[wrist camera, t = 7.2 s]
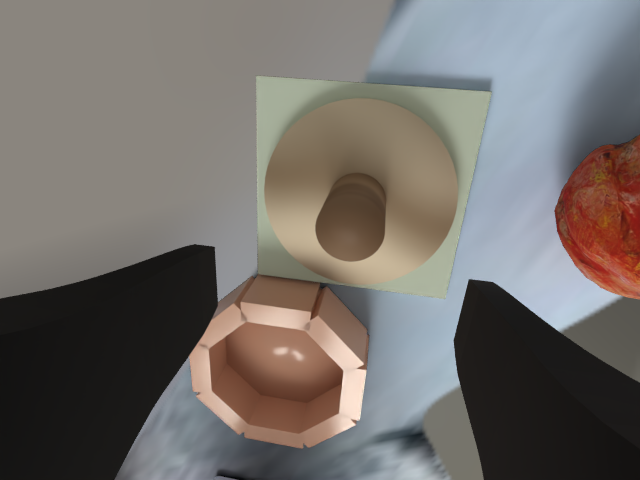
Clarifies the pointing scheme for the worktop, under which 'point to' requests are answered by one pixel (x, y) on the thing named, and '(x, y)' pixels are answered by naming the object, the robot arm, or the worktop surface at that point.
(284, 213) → the lid
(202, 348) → the dish
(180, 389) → the worktop surface
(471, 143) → the mat
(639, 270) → the pomegranate
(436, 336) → the worktop surface
